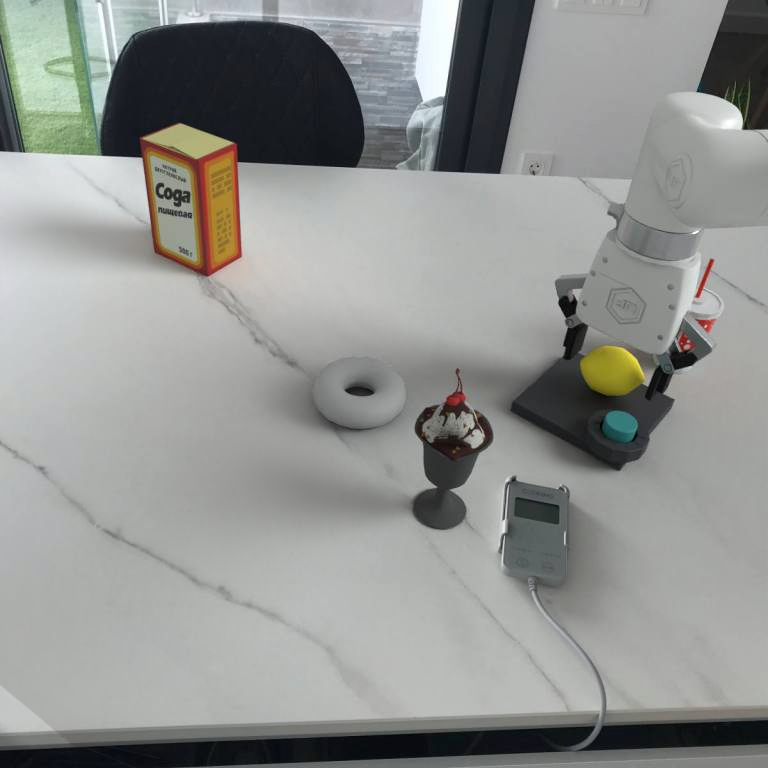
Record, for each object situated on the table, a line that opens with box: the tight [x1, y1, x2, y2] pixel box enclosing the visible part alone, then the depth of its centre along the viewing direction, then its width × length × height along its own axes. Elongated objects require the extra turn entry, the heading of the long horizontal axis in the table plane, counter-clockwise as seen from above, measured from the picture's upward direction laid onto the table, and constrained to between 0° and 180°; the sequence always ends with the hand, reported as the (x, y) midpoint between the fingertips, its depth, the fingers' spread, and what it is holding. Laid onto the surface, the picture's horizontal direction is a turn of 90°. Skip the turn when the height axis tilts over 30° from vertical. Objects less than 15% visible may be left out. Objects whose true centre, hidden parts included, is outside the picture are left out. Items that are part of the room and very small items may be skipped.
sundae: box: [413, 368, 494, 530], centre depth 67 cm, size 7×7×15 cm
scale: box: [510, 352, 676, 471], centre depth 83 cm, size 14×14×3 cm
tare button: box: [602, 411, 638, 443], centre depth 78 cm, size 3×3×2 cm
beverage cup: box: [652, 258, 726, 375], centre depth 88 cm, size 6×6×14 cm
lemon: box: [580, 345, 646, 396], centre depth 83 cm, size 7×5×5 cm
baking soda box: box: [139, 122, 243, 277], centre depth 98 cm, size 10×6×16 cm
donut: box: [311, 356, 408, 430], centre depth 81 cm, size 10×3×10 cm
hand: (611, 373), depth 84 cm, fingers open, 9 cm apart
